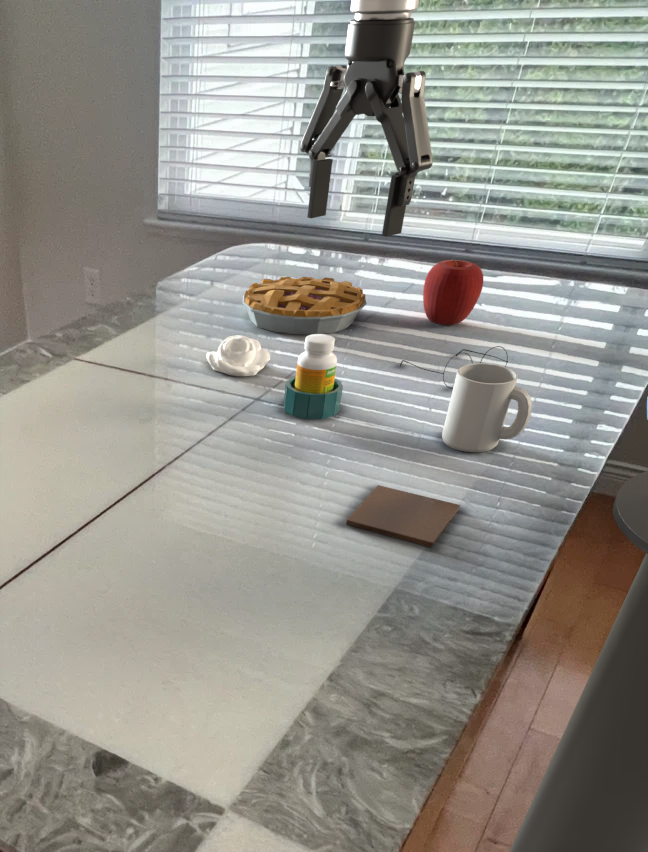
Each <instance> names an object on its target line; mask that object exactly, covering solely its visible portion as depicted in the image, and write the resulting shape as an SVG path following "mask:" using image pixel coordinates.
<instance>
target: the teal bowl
mask: <svg viewBox="0 0 648 852" xmlns="http://www.w3.org/2000/svg"><path fill="white" fill-rule="evenodd" d="M295 379H296V375H295V376H291V377H290V378H289V379H288V380H286V381H285V387H284V396H283V405H282V406H283V407H282V408H283V410H284V412H285V413H286V414H288V415H290V416H291V417H294V418H299V419H304V420H324V419H328V418H332V417H335V416H336V415H337V414H338V413H339V412H340V407H341V402H342V396H343V387H344V386H343V383H342V381H341V380H339V379H337V378H335V379H334V386H333V391H331V392H326V393H306V392H301V391H298V390H296V389H294V388H295Z"/></svg>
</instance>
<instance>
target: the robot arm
mask: <svg viewBox="0 0 648 852" xmlns="http://www.w3.org/2000/svg"><path fill="white" fill-rule="evenodd" d="M419 2H420V0H351V1H350V12H351V14H354V18H353V19H350V21H349V22H348V23H347V30H346V31H347V32H346V39H345V47H344V58H345V59H346V60H347V61H348V63H347V65H345V64H343V65H333V66H328V67H327V69H326V72H325V76H324V81H323V88H322V90H321V93H320V96H319V98H318V100H317V103H316V106H315V107H314V110H313V113H312V115H311V118H310V120H309V123H308V125H307V128H306V129H305V132H304V135H303V137H302V140H301V143H300V145H299V150H300V152H301V153H306V155H308V158H309V160H310V165H309V174H308V181H307V183H308V188H310V191H309V199H308V207H307V215H306V216H307V218H308V219H315V218H321V217H325V216H326V215H327V209H328V208H327V207H328V199H329V191H330V183H331V175H332V168H333V158H330V157H332V154H331V152H332V150H333V149H334V147H335V146H336V144H338V142H339V140H340V139H341V137H342V136H343V135H344V133H345V131H346V130H347V129H348V127H349V126H350V124H351V122H353V119H354V118H356V116H360V115H364V116H366V117H371V118H373V117H375V119H376V121H377V122H379V123H380V125H381V128H382V130H383V134H384V136H385V139H386V142H387V144H388V148H389V150H390V153H391V156H392V159H393V162H394V165H395V168H396V170H397V171H396V172H395V173H393V174H392V175H391V176H390V182H389V189H388V195H387V201H386V207H385V212H384V219H383V225H382V231H381V236H382V237H391V236H395V235H399V234H402V231H403V225H404V219H405V214H406V210H407V209H406V208H407V206H409V205H410V203H411V202H412V197H413V191H414V186H415V180H416V177H417V175H418V174H419V172H423V171H425V170H430V169H431V168H432V167H433V163H434V161H433V153H432V145H431V144H432V143H431V138H430V132H429V131H430V129H429V123H428V116H427V107H426V99H425V90H426V89H425V88H426V80H427V74H426V72H425V71H424V70H419V71H418V70H417V71H409V72H405V62H406V60H407V58H408V57H409V56H410V54H411V52H412V51H411V50H412V44H413V39H414V38H413V37H414V33H415V27H416V21H415V18H413V17H411V16H412V13H413V12H416V11H417V10H418V8H419ZM344 90H345V93H344V94H343V92H344ZM400 94H401V96H400ZM400 97H401V98H400ZM646 398H647V400H646V418H647V419H648V397H646Z"/></svg>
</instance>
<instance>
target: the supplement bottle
mask: <svg viewBox="0 0 648 852" xmlns="http://www.w3.org/2000/svg"><path fill="white" fill-rule="evenodd" d="M304 339H305V340H304V345H303V346H304V347H303V348H304V351H303V352H301V353H300V354H299V356H298V358H297V363H296V364H297V365H296V371H295V372H296V373H295V376H296V379H295V388H294V389H296V390H298V391H301V392H306V393H326V392H331V391H333V386H334V379H336V371H337V367H338V366H337V364H338V357H337V356H336V355H335V353H334V352H333V351H334V349H335V341H336V339H335V337H334V336H332V335H329V334H326V333H325V334H308V335H307V336H306V337H305V338H304Z"/></svg>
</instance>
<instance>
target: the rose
mask: <svg viewBox="0 0 648 852" xmlns="http://www.w3.org/2000/svg"><path fill="white" fill-rule="evenodd" d="M261 345H262V344H261V343H260V341H258V340H257V339H254V338H250V337H247V336H245V335H242V334H237V335H229V336H228V337H226V338H225V339H224V340H222V342H221V343H220V345H219V346H218V348H217V351H209V352H207V353H206V360H207V362H208V364H209V365H210V367H211V368H212V369H213V371H216V372H220V373H223V374H226V375H229V376H232V377H252V376H255V375H257V374H258V372H260V371H261V370H262V369H264V368H265V366H266V364H267V363H268V362H270V359H271V353H270V351H268V350H267V349H266V348H262V346H261Z"/></svg>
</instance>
